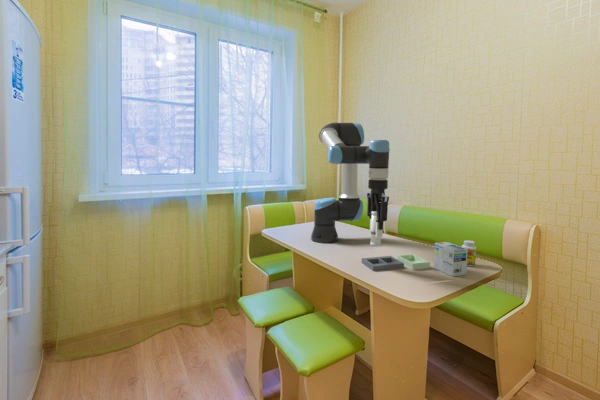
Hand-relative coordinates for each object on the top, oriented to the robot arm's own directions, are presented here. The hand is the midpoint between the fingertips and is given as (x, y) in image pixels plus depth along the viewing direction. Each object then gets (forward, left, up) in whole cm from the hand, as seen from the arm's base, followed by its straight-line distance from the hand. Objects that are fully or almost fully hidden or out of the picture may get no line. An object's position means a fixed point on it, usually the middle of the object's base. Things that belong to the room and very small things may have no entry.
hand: (375, 235), depth 122 cm
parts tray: (+3, +16, -13) cm, 21 cm away
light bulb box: (+12, +26, -14) cm, 32 cm away
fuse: (0, 0, -4) cm, 4 cm away
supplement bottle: (+8, +39, -14) cm, 42 cm away
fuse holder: (0, +3, -13) cm, 14 cm away
